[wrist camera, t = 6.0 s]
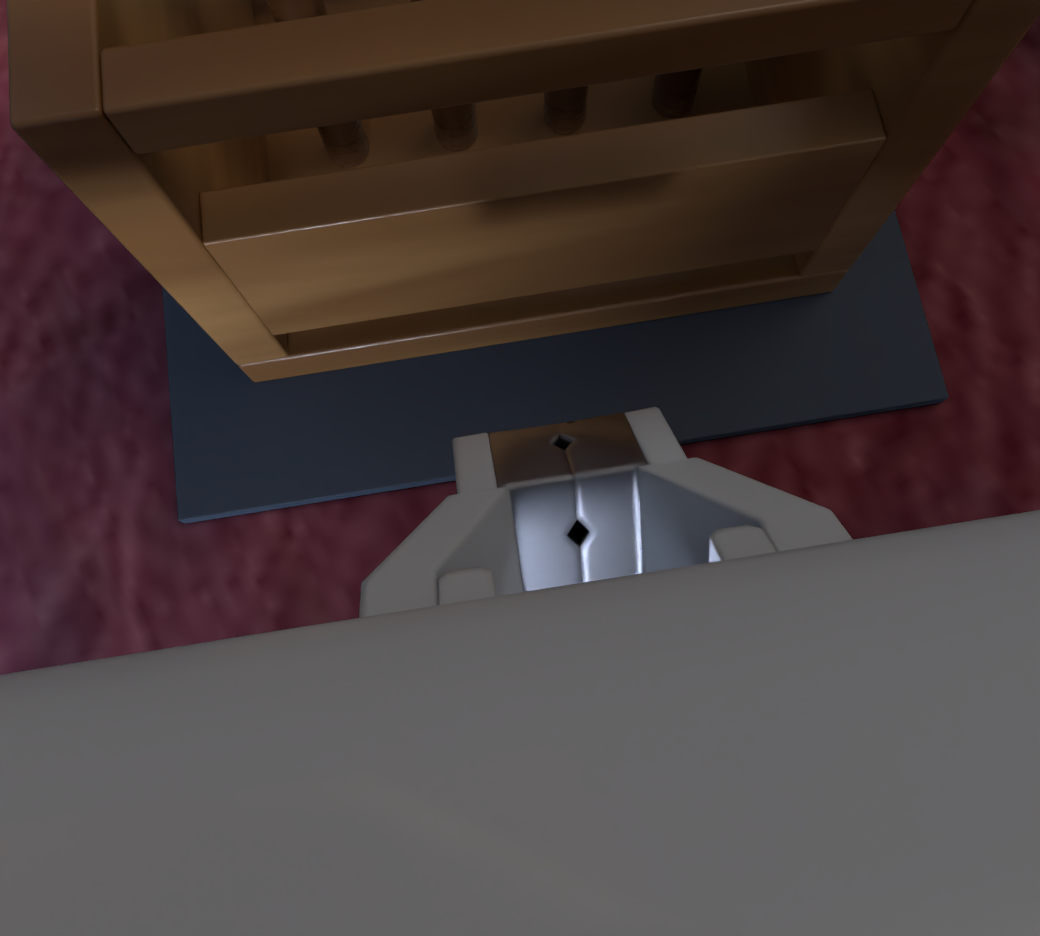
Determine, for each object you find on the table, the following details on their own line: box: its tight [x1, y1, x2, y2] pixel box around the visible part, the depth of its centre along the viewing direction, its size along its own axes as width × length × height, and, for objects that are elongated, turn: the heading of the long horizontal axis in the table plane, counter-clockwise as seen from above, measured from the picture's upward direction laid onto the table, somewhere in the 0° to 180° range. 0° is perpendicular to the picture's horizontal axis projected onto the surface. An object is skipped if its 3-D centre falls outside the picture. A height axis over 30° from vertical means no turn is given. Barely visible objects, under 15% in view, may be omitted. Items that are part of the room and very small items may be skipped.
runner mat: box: [162, 209, 948, 523], centre depth 23 cm, size 24×18×1 cm
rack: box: [7, 0, 1040, 382], centre depth 17 cm, size 10×14×10 cm
